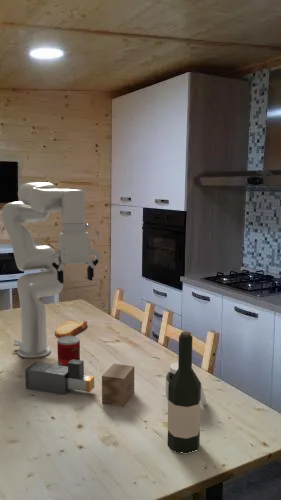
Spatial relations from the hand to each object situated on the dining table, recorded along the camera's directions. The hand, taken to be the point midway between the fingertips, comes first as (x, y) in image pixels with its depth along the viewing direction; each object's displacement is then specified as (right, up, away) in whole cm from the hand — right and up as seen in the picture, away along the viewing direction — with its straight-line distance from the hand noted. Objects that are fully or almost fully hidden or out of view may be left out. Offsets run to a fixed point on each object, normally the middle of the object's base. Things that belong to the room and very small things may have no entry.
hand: (75, 281), depth 152 cm
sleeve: (-9, -35, +2) cm, 36 cm away
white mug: (+35, -37, -8) cm, 52 cm away
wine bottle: (+32, -40, -31) cm, 60 cm away
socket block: (+14, -36, -5) cm, 39 cm away
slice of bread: (-10, -27, +59) cm, 66 cm away
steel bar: (-4, -34, 0) cm, 34 cm away
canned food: (-5, -33, +17) cm, 37 cm away
